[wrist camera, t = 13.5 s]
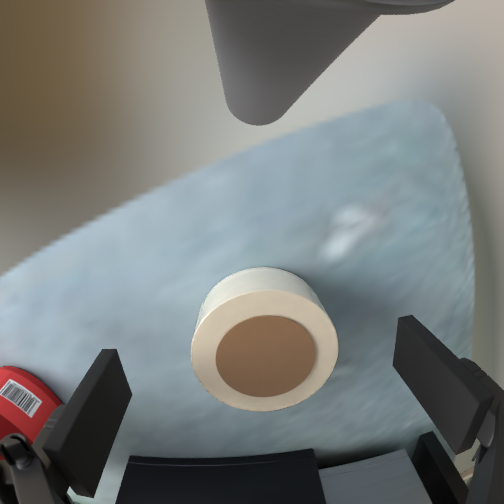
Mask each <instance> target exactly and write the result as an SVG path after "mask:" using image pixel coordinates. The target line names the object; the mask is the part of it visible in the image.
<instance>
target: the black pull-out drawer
mask: <svg viewBox="0 0 504 504" xmlns="http://www.w3.org/2000/svg"><path fill="white" fill-rule="evenodd" d="M474 467H475V466H474ZM474 467H473V468H471V469H469V470H467V471H464V472H462V473H460V474H459V472H458V471H457V469H456V467H455V466H454V464H453V462H452V461H451V459H450V458H449V456H448V454H447V453H446V451H445V450H444V448H443V446H442V445H441V443H440V442H439V440H438V438H437V437H436V435H435V434H434V432H433V431H431V432H428V433H425V434H422V435H420V437H419V440H418V442H417V445H416V448H415V450H414V453H413V456H412V458H411V460H410V458H409V456H408V454H407V452H406V450H405V449H401V450H398V451H395V452H391V453H388V454H384V455H381V456H377V457H373V458H370V459H366V460H362V461H358V462H353V463H349V464H345V465H340V466H335V467H330V468H325V469H319V470H318V471H319V475H320V479H321V483H322V487H323V491H324V495H325V500H326V504H465V503H466V499H467V496H468V492H469V488H470V484H471V480H472V476H473V471H474ZM468 478H469V480H468V481H467V483H466V484H465V482H464V480H466V479H468Z"/></svg>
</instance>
